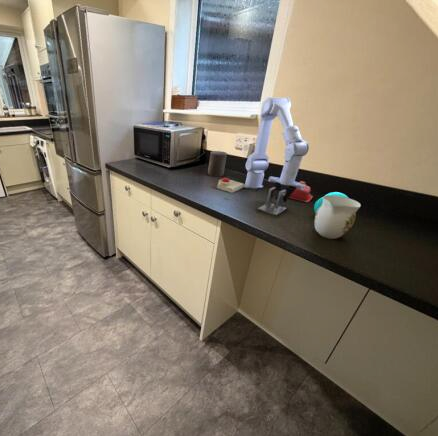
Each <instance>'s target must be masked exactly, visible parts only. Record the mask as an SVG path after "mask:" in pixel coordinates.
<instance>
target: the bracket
mask: <svg viewBox="0 0 438 436" xmlns="http://www.w3.org/2000/svg"><path fill="white" fill-rule="evenodd" d="M274 190H276V187H274V186H273V187H271V188H269V189H268V193H267V197H266V200H265V203H264V204H263V205H261V206H259V207H258V208H257V210H259V211H262V212H264V213H268V214H270V215H273V216H278V215H280V214H281V213H282V212H284V211H285V210H287V207H286V206H282V204H283V202H284V200H283V198H284V195H285V192H286V191H287V189H281V191H280V192H279V194H278V198H277V200H276V201H275V203H273V200H274V198H275V196H273V195H272V193H273V191H274Z"/></svg>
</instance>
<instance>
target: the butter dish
mask: <svg viewBox="0 0 438 436" xmlns="http://www.w3.org/2000/svg"><path fill="white" fill-rule="evenodd" d="M298 183H301V184H304V185H306V181H303V180H301V181H299V182H298ZM311 189H312V188H311V186H308V185H306V186H305V189H304V190H300V189H298V188H297V189H296V190H295V191H294V192H293V193H292V194H291V195H290V197H289V198H288V199H293V200H296V201H300V202H304V203H309V202H310V201H311V200H312V199H313V198H314V197H313V195H312V194H311V191H312V190H311ZM285 195H286V192H285Z"/></svg>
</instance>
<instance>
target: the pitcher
mask: <svg viewBox="0 0 438 436" xmlns="http://www.w3.org/2000/svg"><path fill="white" fill-rule="evenodd" d="M322 197H323V203H322V205H321V206H320V207H319V208H318V210H317V212H316V213H315V215H314V221H313V223H314V229H315V231H316V232H317V233H318V235H319V236H321V237H324V238H326V239H331V240H332V239H333V240H335V239H338V238H341V237H342V236H344V235H345V234H346V233H347V232H349V231H350V230H351V229H352V227H353V225H354V224H355V221H356V216H357V211H358V210H359V209H360V208H361V206H362V205H361V203H360V202H358V201H357V200H355V199H353V198H349V197H348V198H346V197H341V196H334V195H328V196H325V195H324V196H322Z"/></svg>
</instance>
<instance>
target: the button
mask: <svg viewBox="0 0 438 436" xmlns="http://www.w3.org/2000/svg"><path fill="white" fill-rule="evenodd" d="M221 179H222V182H229V180H230V178H229V177H222V178H221Z"/></svg>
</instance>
